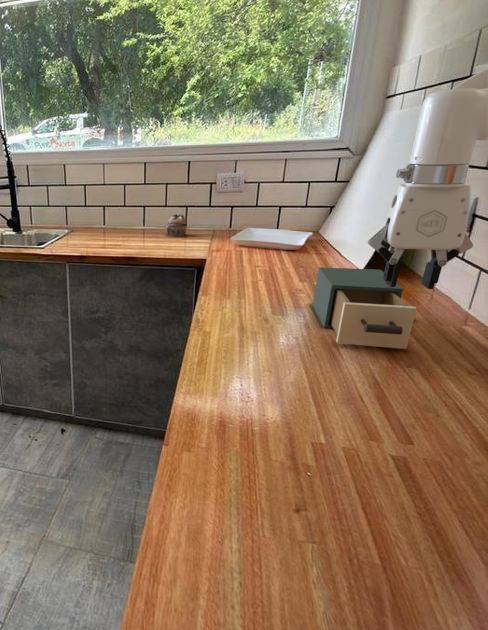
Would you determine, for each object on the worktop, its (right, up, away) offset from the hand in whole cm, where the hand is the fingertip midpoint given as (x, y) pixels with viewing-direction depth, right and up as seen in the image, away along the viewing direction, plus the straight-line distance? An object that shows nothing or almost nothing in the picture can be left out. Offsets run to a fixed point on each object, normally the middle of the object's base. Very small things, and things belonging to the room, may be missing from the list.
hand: (408, 284), depth 77 cm
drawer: (+5, -10, +20) cm, 23 cm away
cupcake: (-8, +32, +132) cm, 136 cm away
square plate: (+26, +24, +110) cm, 115 cm away
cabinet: (+9, -6, +31) cm, 33 cm away
